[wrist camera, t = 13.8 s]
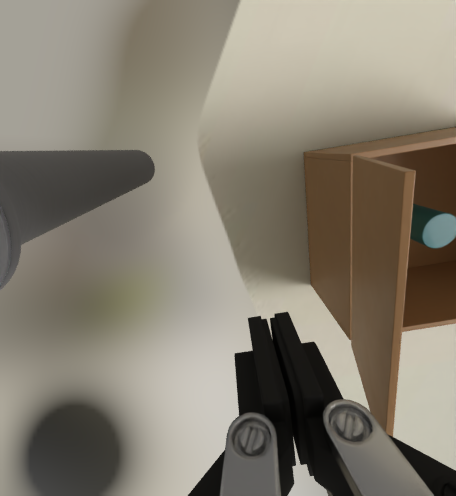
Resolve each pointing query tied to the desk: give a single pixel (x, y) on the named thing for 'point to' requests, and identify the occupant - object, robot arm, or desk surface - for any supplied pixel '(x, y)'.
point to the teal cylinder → (432, 227)
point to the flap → (379, 277)
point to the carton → (420, 256)
